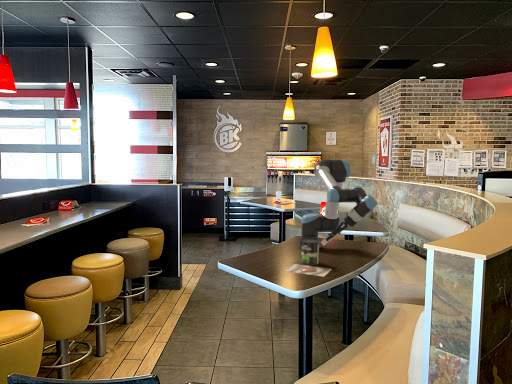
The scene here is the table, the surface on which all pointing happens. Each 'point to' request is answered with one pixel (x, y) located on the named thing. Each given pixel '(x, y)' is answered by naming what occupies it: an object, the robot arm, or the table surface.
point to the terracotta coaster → (308, 269)
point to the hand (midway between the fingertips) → (325, 241)
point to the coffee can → (310, 252)
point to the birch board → (319, 272)
